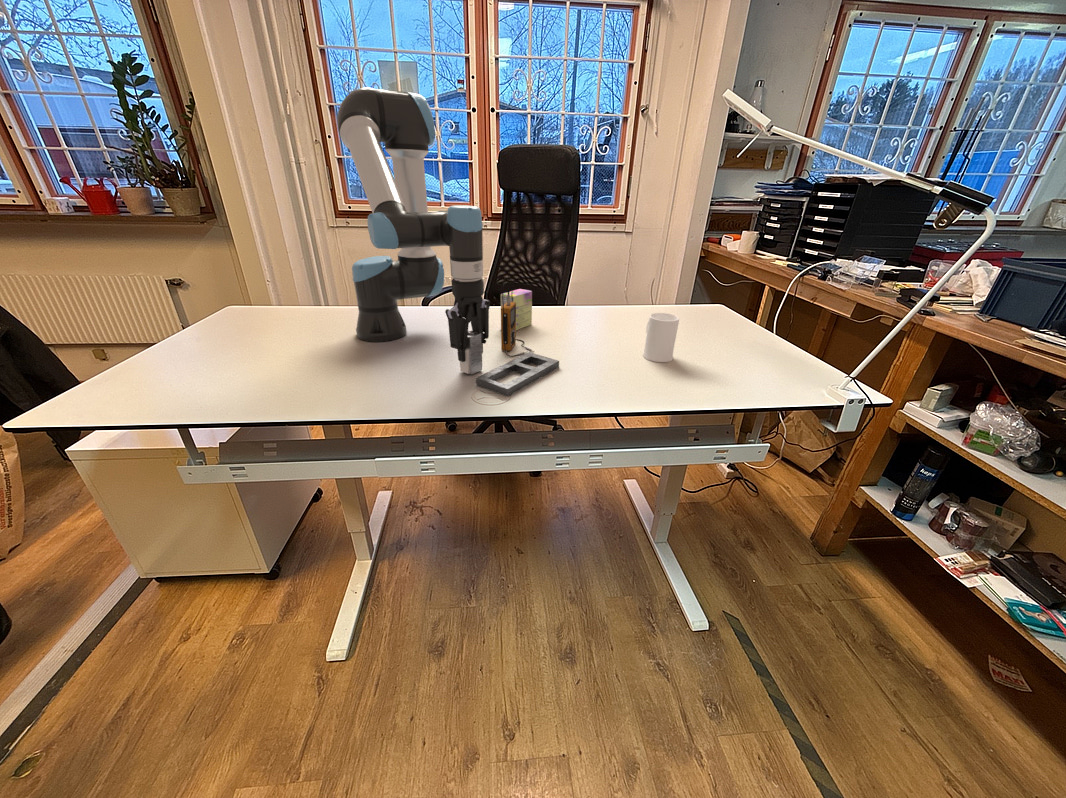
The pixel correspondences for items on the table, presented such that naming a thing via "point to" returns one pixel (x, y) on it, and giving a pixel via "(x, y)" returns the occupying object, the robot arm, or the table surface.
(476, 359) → the grey tall block
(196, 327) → the table surface
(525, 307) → the box
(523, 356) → the grey flat frame
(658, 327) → the mug
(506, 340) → the multimeter
